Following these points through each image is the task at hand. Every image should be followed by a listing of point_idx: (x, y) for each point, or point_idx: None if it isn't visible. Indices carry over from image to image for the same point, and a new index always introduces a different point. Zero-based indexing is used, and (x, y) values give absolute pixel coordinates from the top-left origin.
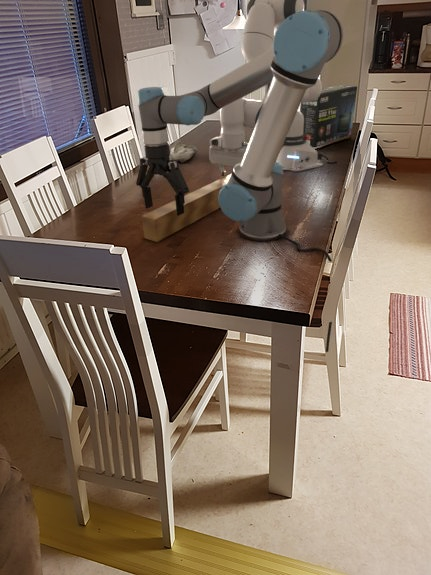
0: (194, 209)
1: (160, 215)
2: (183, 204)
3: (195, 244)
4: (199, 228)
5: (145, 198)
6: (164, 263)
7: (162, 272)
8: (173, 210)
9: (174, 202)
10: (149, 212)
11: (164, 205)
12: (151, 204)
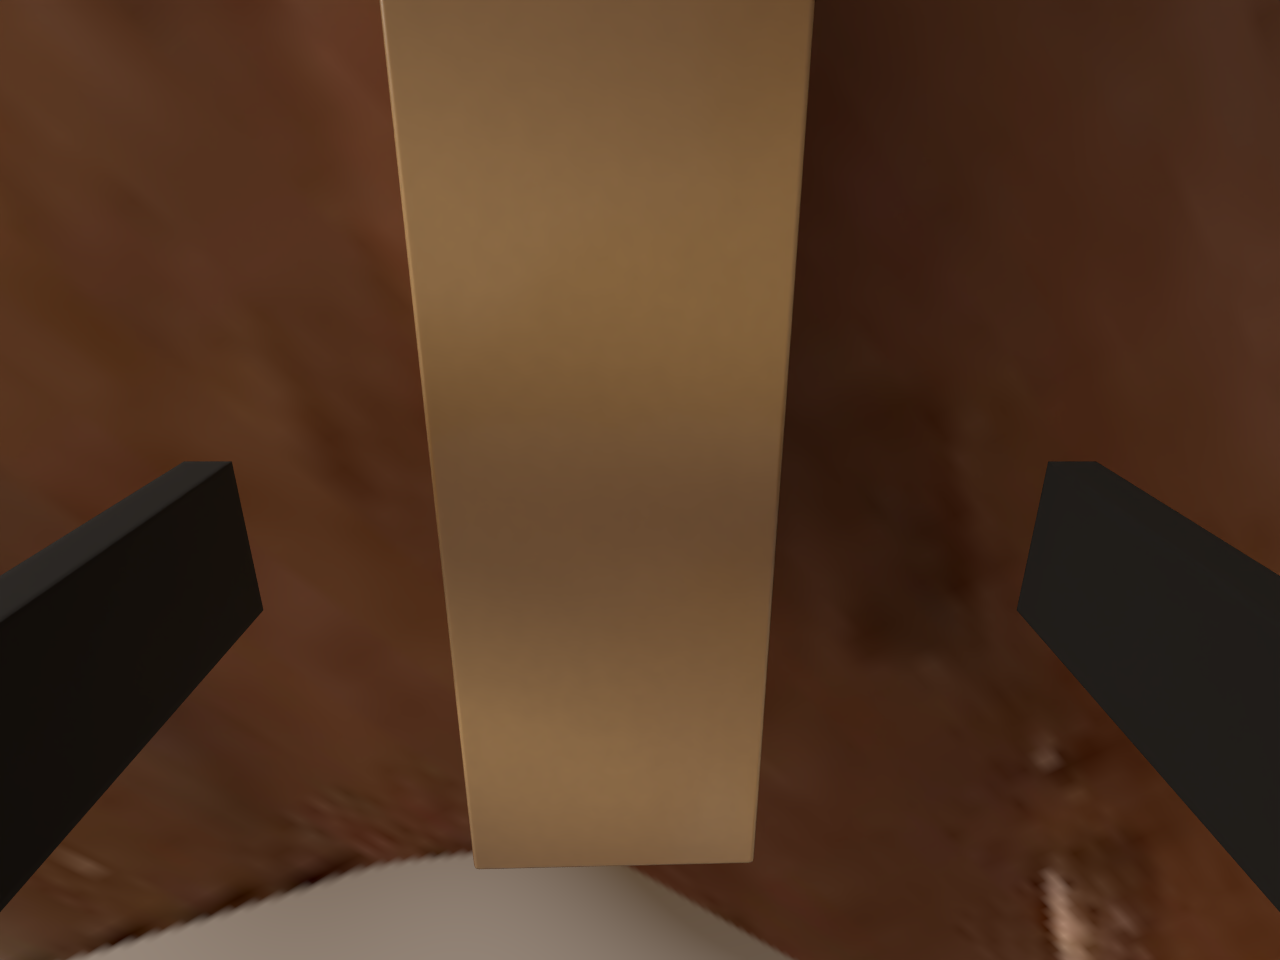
0: None
1: (728, 723)
2: (1221, 540)
3: (1130, 471)
4: (952, 33)
5: (126, 750)
6: (1033, 871)
7: (1094, 957)
8: (782, 433)
9: (479, 25)
10: (466, 727)
11: (427, 329)
12: (217, 513)
